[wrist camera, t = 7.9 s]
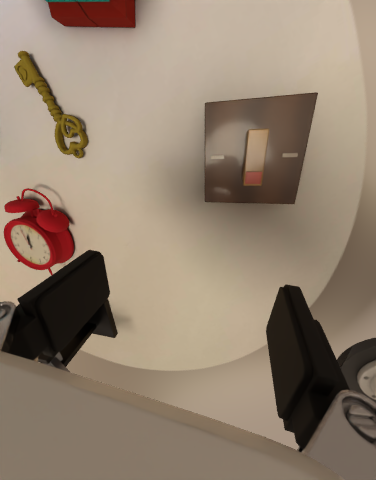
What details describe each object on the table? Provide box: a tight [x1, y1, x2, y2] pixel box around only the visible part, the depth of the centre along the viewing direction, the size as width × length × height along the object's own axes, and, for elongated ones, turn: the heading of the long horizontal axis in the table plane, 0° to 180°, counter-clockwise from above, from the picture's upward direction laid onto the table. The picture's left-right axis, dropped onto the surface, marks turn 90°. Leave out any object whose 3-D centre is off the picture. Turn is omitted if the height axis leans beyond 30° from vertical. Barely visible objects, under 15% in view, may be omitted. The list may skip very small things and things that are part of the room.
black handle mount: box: [38, 299, 118, 367], centre depth 37 cm, size 12×10×12 cm
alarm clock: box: [4, 189, 74, 275], centre depth 32 cm, size 10×6×15 cm
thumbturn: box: [242, 129, 269, 186], centre depth 18 cm, size 4×2×5 cm, turn 2°
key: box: [14, 51, 88, 158], centre depth 24 cm, size 12×1×5 cm
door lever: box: [41, 352, 70, 372], centre depth 31 cm, size 12×5×2 cm, turn 92°
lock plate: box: [205, 93, 318, 204], centre depth 21 cm, size 10×10×2 cm
